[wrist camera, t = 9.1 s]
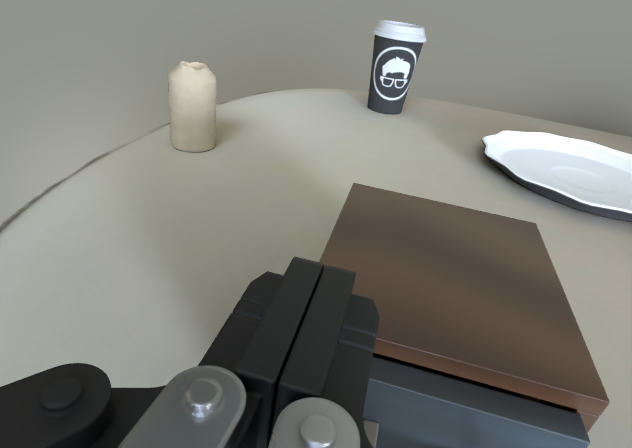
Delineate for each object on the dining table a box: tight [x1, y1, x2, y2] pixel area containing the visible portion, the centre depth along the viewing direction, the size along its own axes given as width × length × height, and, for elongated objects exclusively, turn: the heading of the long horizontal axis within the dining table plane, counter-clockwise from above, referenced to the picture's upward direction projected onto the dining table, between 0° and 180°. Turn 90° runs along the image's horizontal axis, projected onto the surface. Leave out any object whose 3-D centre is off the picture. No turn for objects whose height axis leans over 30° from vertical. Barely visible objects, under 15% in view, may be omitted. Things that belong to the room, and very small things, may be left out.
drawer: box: [363, 353, 590, 448], centre depth 21 cm, size 16×10×8 cm, turn 166°
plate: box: [482, 131, 632, 222], centre depth 62 cm, size 29×29×2 cm
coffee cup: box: [368, 20, 426, 114], centre depth 79 cm, size 10×10×15 cm
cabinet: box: [319, 183, 609, 433], centre depth 24 cm, size 14×12×10 cm
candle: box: [168, 61, 216, 152], centre depth 53 cm, size 6×6×10 cm
